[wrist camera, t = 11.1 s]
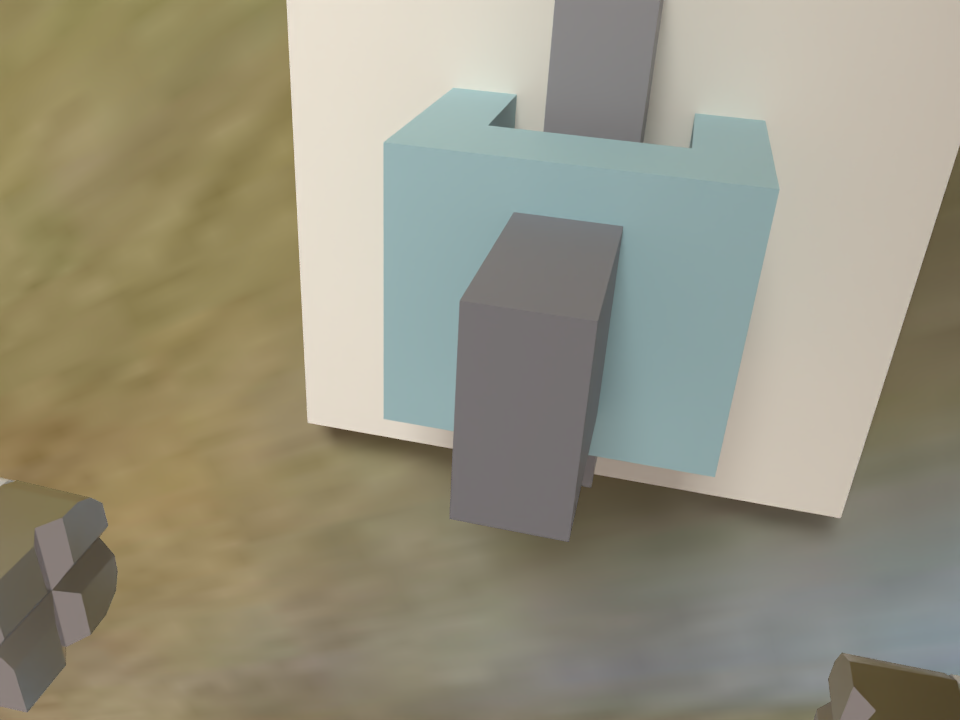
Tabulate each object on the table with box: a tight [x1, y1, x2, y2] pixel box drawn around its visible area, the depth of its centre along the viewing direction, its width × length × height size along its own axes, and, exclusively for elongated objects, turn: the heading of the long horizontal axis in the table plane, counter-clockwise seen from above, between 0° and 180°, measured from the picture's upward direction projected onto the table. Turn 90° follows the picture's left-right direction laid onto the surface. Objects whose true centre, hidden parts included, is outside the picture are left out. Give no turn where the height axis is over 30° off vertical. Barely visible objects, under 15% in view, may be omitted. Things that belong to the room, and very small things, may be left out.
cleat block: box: [383, 88, 780, 542], centre depth 17 cm, size 6×7×9 cm
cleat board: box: [287, 0, 960, 518], centre depth 21 cm, size 14×15×4 cm
